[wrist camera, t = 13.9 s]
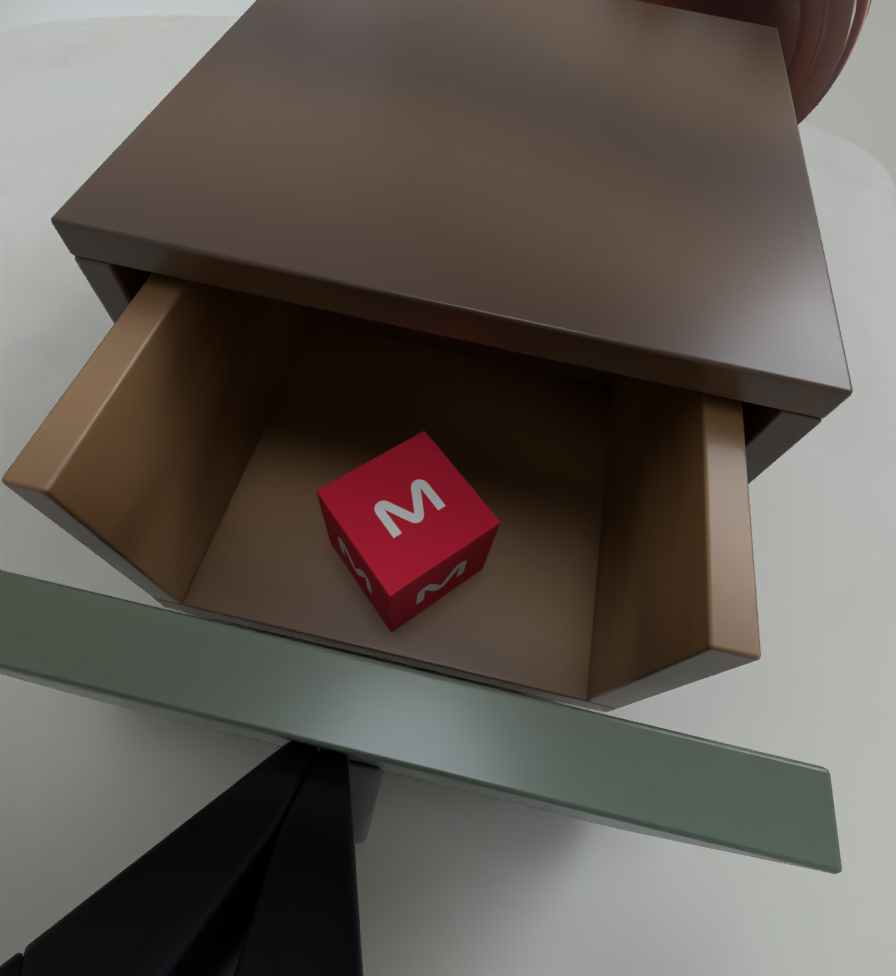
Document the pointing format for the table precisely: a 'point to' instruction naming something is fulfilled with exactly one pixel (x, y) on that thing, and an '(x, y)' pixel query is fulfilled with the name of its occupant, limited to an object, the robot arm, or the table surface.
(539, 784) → the drawer
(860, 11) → the alarm clock
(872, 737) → the table surface
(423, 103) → the cabinet
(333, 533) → the red letter m cube
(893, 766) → the table surface
